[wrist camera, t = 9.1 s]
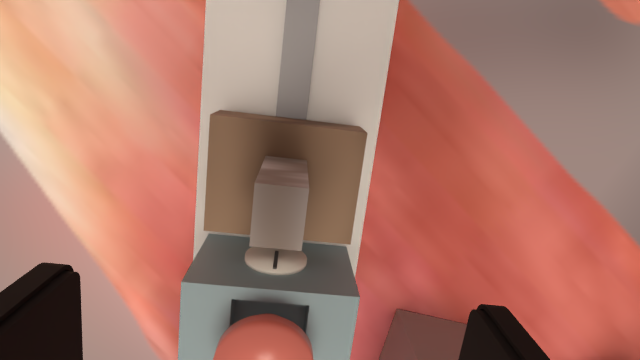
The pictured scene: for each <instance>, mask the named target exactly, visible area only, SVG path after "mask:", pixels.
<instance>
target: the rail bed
mask: <svg viewBox="0 0 640 360" xmlns="http://www.w3.org/2000/svg"><path fill="white" fill-rule="evenodd" d="M398 4H399V0H206V11H205V31H204V52H203V72H202V92H201V112H200V132H199V153H198V173H197V193H196V213H195V234H194V254H193V260H194V259H195V257H196V255H197V253H198V252H199V250H200V248H201V246H202V245H203V243H204V241H205V239H206V237H207V236H208V234H219V235H229V236H240V237H250V235H244V234H234V233H223V232H212V231H204V213H205V195H206V177H207V159H208V141H209V123H210V114H212V113H214V112H216V111H219V110H226V111H234V112H243V113H251V114H260V115H268V116H277V117H285V118H293V119H302V120H310V121H319V122H327V123H336V124H344V125H353V126H360V127H361V128H363V129H364V130H365V131H366V132H367V140H366V147H365V153H364V160H363V166H362V173H361V179H360V186H359V192H358V199H357V206H356V212H355V219H354V225H353V232H352V238H351V245H349V244H339V243H328V242H318V241H307V240H303V243H314V244H324V245H335V246H346V247H347V251H348V255H349V258H350V262H351V266H352V269H353V273H354V277H355V274H356V268H357V262H358V256H359V249H360V243H361V237H362V230H363V224H364V218H365V211H366V205H367V199H368V193H369V186H370V180H371V174H372V167H373V161H374V155H375V149H376V142H377V136H378V130H379V123H380V117H381V111H382V105H383V98H384V92H385V86H386V79H387V73H388V67H389V60H390V54H391V48H392V42H393V35H394V29H395V23H396V16H397V10H398Z"/></svg>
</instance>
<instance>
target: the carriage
mask: <svg viewBox="0 0 640 360" xmlns="http://www.w3.org/2000/svg"><path fill="white" fill-rule="evenodd" d="M366 140H367V132H366V131H365V130H364V129H363V128H361V127H360V126H353V125H344V124H336V123H327V122H319V121H310V120H302V119H293V118H285V117H277V116H268V115H260V114H251V113H243V112H234V111H226V110H219V111H216V112H214V113H212V114H210V123H209V141H208V159H207V177H206V195H205V213H204V231H212V232H223V233H234V234H244V235H250V242H249V246H253V247H264V248H275V249H285V250H296V251H302V244H303V240H307V241H318V242H328V243H339V244H349V245H351V238H352V232H353V225H354V219H355V212H356V206H357V199H358V192H359V186H360V179H361V173H362V166H363V160H364V153H365V147H366Z"/></svg>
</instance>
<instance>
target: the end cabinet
mask: <svg viewBox="0 0 640 360" xmlns="http://www.w3.org/2000/svg"><path fill="white" fill-rule="evenodd" d="M249 242H250V237H240V236H229V235H219V234H208V236H207V237H206V239H205V241H204V243H203V245H202V246H201V248H200V250H199V252H198V253H197V255H196V257H195V259H194V260H193V262H192V264H191V266H190V268H189V269H188V271H187V273H186V275H185V276H184V278H183V280H182V282H181V300H180V324H179V348H178V360H213V358H214V355H215V351H216V348H217V345H218V342H219V340H220V338H221V336H222V335H223V333H224V332H225V331H226V330H227V329H228V328H229V327H230V326H231V325H233V324H234V323H236V322H237V321H239V320H241V319H243V318H246V317H249V316H253V315H259V314H264V313H271V314H276V315H278V316H281V317H283V318H286V319H288V320H290V321H292V322H294V323H295V324H296V325H298V326H299V327H300V328H301V329H302V330H303V331H304V332H305V333H306V335H307V336H308V338H309V340H310V342H311V345H312V349H313V360H350V355H351V349H352V343H353V337H354V330H355V324H356V318H357V312H358V306H359V300H360V296H359V292H358V288H357V284H356V281H355V277H354V273H353V269H352V266H351V262H350V258H349V255H348V251H347V247H346V246H335V245H324V244H314V243H303V244H302V251H296V250H285V249H275V248H264V247H253V246H249Z"/></svg>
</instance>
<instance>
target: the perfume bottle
mask: <svg viewBox="0 0 640 360" xmlns="http://www.w3.org/2000/svg"><path fill="white" fill-rule="evenodd" d="M466 327H467V324H464V323H459V322H455V321H450V320H446V319H441V318H437V317H432V316H428V315H423V314H419V313H414V312H410V311H405V310H401V309H397V310H396V313H395V315H394V318H393V321H392V324H391V327H390V329H389V332H388V335H387V338H386V341H385V343H384V346H383V349H382V352H381V355H380V357H379V360H458V359H459V355H460V351H461V347H462V343H463V339H464V335H465V331H466Z"/></svg>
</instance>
